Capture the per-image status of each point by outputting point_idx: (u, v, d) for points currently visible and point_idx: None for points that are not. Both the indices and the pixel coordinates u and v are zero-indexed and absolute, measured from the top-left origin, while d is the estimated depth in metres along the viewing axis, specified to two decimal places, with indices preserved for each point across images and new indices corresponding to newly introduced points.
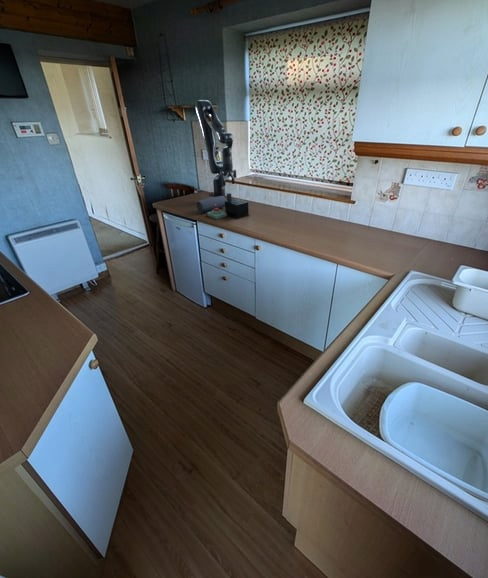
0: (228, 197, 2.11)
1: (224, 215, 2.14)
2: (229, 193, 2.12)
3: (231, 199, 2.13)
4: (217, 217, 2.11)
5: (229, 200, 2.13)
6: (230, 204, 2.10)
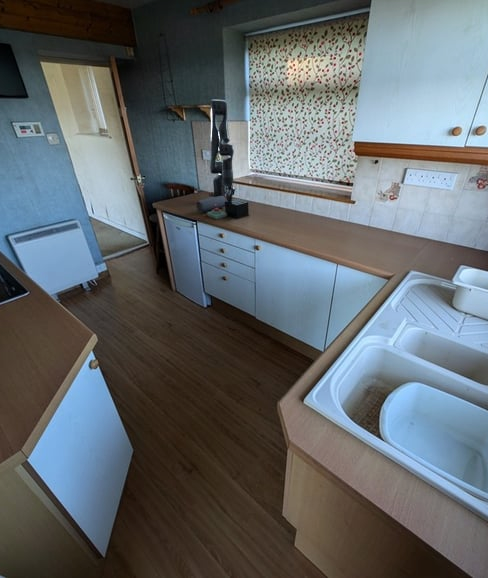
0: (228, 197, 2.11)
1: (224, 215, 2.14)
2: None
3: None
4: (217, 217, 2.11)
5: None
6: (230, 204, 2.10)
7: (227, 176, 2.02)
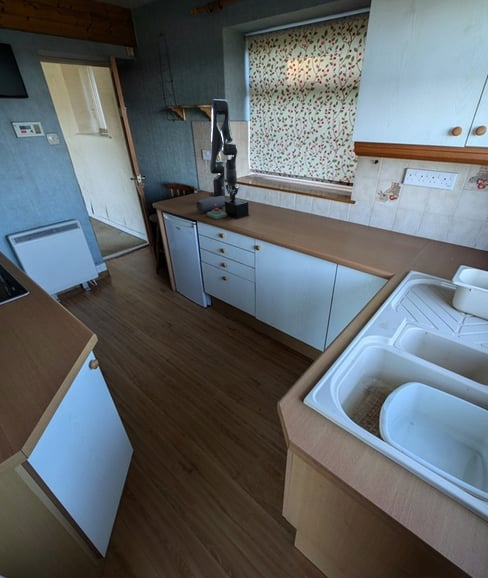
0: (231, 196, 2.13)
1: (224, 215, 2.14)
2: None
3: None
4: (217, 217, 2.11)
5: None
6: (230, 204, 2.10)
7: (231, 175, 2.03)
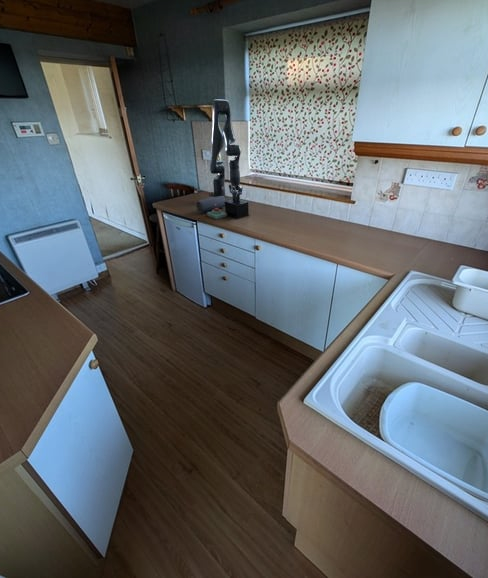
0: (234, 196, 2.15)
1: (224, 215, 2.14)
2: (235, 192, 2.15)
3: None
4: (217, 217, 2.11)
5: (235, 199, 2.16)
6: (230, 204, 2.10)
7: (234, 176, 2.05)
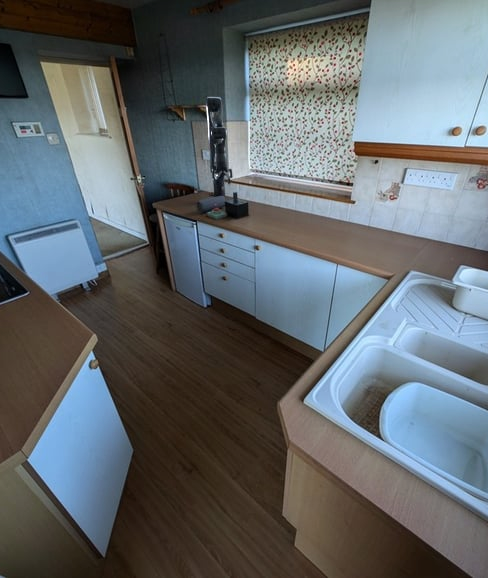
0: (234, 196, 2.15)
1: (224, 215, 2.14)
2: (235, 192, 2.15)
3: (237, 198, 2.17)
4: (217, 217, 2.11)
5: (235, 199, 2.16)
6: (230, 204, 2.10)
7: (225, 160, 1.98)
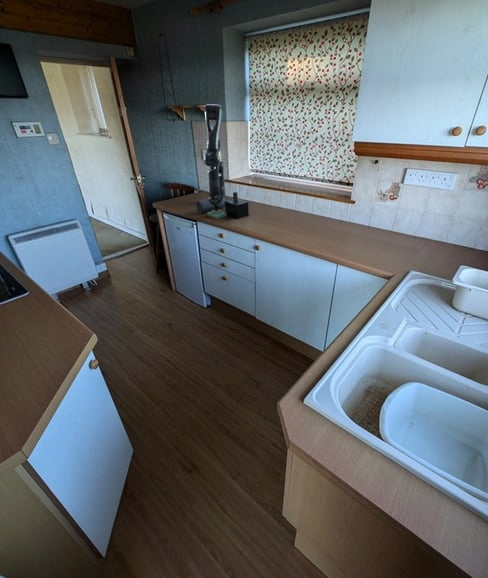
0: (234, 196, 2.15)
1: (224, 215, 2.14)
2: (235, 192, 2.15)
3: (237, 198, 2.17)
4: (217, 217, 2.11)
5: (235, 199, 2.16)
6: (230, 204, 2.10)
7: (219, 185, 2.06)
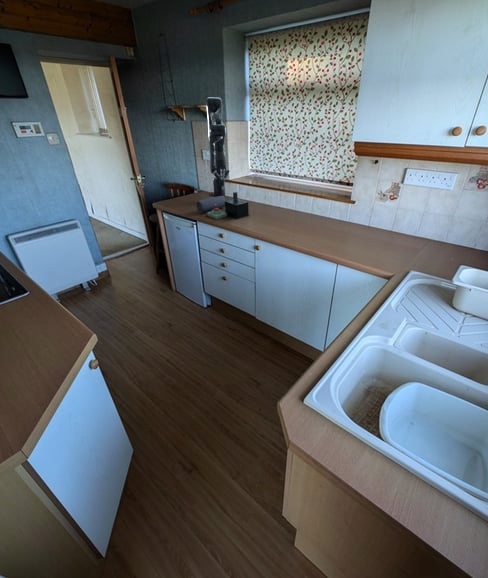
0: (234, 196, 2.15)
1: (224, 215, 2.14)
2: (235, 192, 2.15)
3: (237, 198, 2.17)
4: (217, 217, 2.11)
5: (235, 199, 2.16)
6: (230, 204, 2.10)
7: (225, 158, 1.96)
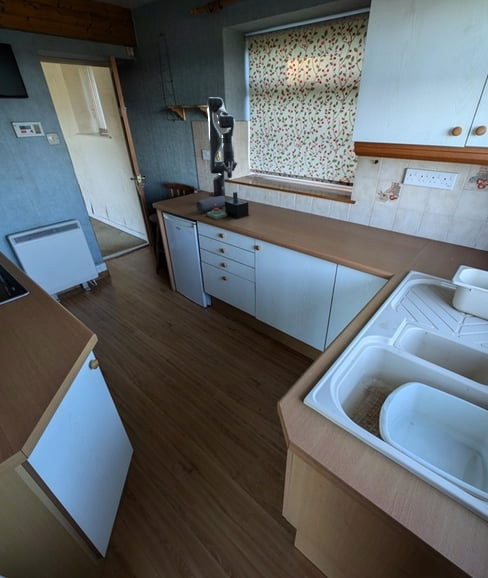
0: (234, 196, 2.15)
1: (224, 215, 2.14)
2: (235, 192, 2.15)
3: (237, 198, 2.17)
4: (217, 217, 2.11)
5: (235, 199, 2.16)
6: (230, 204, 2.10)
7: (233, 150, 1.93)
